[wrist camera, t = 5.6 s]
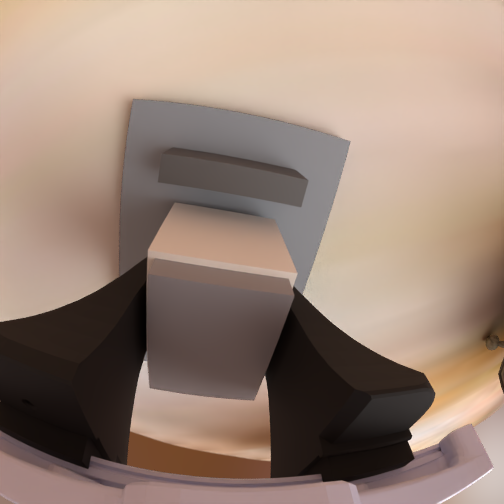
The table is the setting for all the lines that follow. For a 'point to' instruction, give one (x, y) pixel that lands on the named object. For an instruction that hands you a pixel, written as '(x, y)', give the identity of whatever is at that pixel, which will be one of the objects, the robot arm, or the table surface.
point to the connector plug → (215, 301)
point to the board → (226, 175)
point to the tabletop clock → (492, 344)
